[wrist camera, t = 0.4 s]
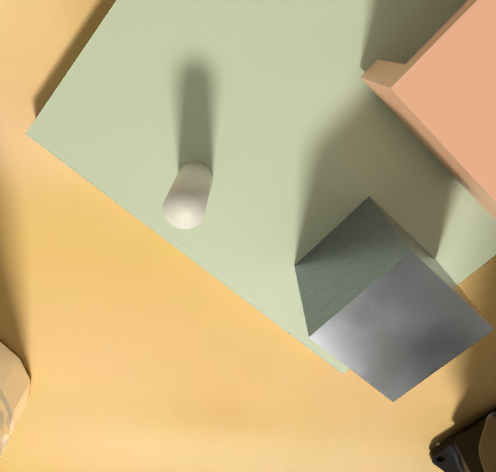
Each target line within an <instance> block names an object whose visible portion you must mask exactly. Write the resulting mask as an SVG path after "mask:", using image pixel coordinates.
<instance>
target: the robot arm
mask: <svg viewBox="0 0 496 472" xmlns="http://www.w3.org/2000/svg"><path fill="white" fill-rule="evenodd" d="M429 455H430V458H431V460H432V462H433V463H434V464H435V465H436V466H438V467H439V468H440V469H442V470H443V471H444V472H496V408H495V409H494V410H492V411H491V412H489V413H488V414H486V415H485V416H483V417H481V418H480V419H478V420H477V421H475V422H474V423H472V424H471V425H469V426H468V427H466V428H464V429H463V430H461V431H460V432H458V433H457V434H455V435H454V436H452V437H451V438H449V439H448V440H446V441H444V442H443V443H441V444H440V445H438V446H437V447H435V448H434V449H432V450H431V451H430V453H429Z"/></svg>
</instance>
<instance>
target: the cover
mask: <svg viewBox="0 0 496 472" xmlns="http://www.w3.org/2000/svg"><path fill="white" fill-rule="evenodd" d="M360 78H361V79H362V80H363V81H364V82H365V83H366V84H367V85H368V86H369V87H370V88H371V89H372V90H373V91H374V92H375V94H376V95H377V96H378V97H379V98H380V99H381V100H382V101H383V102H384V103H385V104H386V105H387V106H388V107H389V108H390V109H391V110H392V112H393V113H394V114H395V115H396V116H397V117H398V118H399V119H400V120H401V121H402V122H403V123H404V124H405V125H406V126H407V127H408V129H409V130H410V131H411V132H412V133H413V134H414V135H415V136H416V137H417V138H418V139H419V140H420V141H421V142H422V143H423V144H424V146H425V147H426V148H427V149H428V150H429V151H430V152H431V153H432V154H433V155H434V156H435V157H436V158H437V159H438V160H439V161H440V163H441V164H442V165H443V166H444V167H445V168H446V169H447V170H448V171H449V172H450V173H451V174H452V175H453V176H454V177H455V178H456V179H457V181H458V182H459V183H460V184H461V185H462V186H463V187H464V188H465V189H466V190H467V191H468V192H469V193H470V194H471V195H472V196H473V198H474V199H475V200H476V201H477V202H478V203H479V204H480V205H481V206H482V207H483V208H484V209H485V210H486V211H487V212H488V213H489V215H491V216H492V217H493V218H495V219H496V0H468V1H467V2H466V3H465V4H464V5H463V6H462V7H461V8H460V9H459V10H458V11H457V12H456V13H455V14H454V15H453V16H452V17H451V18H450V20H449V21H448V22H447V23H446V24H445V25H444V26H443V27H442V28H441V29H440V30H439V31H438V32H437V33H436V34H435V35H434V36H433V37H432V38H431V39H430V40H429V41H428V42H427V43H426V44H425V45H424V46H423V47H422V48H421V49H420V50H419V51H418V52H417V53H416V54H415V55H414V56H413V57H412V58H411V59H410V60H409V61H408V62H407V63H406V64H400V63H394V62H388V61H383V60H376V61H375V62H374V63H373V64H372V65H371V67H370V68H369V69H368V70H367V71H366V72H365V73H364V74H363V75H362V76H361V77H360Z"/></svg>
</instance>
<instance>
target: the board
mask: <svg viewBox="0 0 496 472" xmlns="http://www.w3.org/2000/svg"><path fill="white" fill-rule="evenodd" d="M467 1H468V0H116V1H115V3H114V4H113V6H112V7H111V9H110V10H109V12H108V13H107V15H106V16H105V18H104V19H103V21H102V22H101V24H100V25H99V26H98V28H97V29H96V31H95V32H94V34H93V35H92V37H91V38H90V40H89V41H88V43H87V44H86V46H85V47H84V49H83V50H82V51H81V53H80V54H79V56H78V57H77V59H76V60H75V62H74V63H73V65H72V66H71V68H70V69H69V71H68V72H67V74H66V75H65V77H64V78H63V79H62V81H61V82H60V84H59V85H58V87H57V88H56V90H55V91H54V93H53V94H52V96H51V97H50V99H49V100H48V102H47V103H46V104H45V106H44V107H43V109H42V110H41V112H40V113H39V115H38V116H37V118H36V119H35V121H34V122H33V124H32V125H31V127H30V128H29V129H28V131H27V132H26V134H27V135H28V136H29V137H30V138H32V139H33V140H34V141H36V142H37V143H38V144H40V145H41V146H42V147H44V148H45V149H46V150H48V151H49V152H50V153H52V154H53V155H54V156H56V157H57V158H58V159H60V160H61V161H62V162H63V163H65V164H66V165H67V166H69V167H70V168H71V169H73V170H74V171H75V172H77V173H78V174H79V175H81V176H82V177H83V178H85V179H86V180H87V181H89V182H90V183H91V184H92V185H94V186H95V187H96V188H98V189H99V190H100V191H102V192H103V193H104V194H106V195H107V196H108V197H110V198H111V199H112V200H114V201H115V202H116V203H118V204H119V205H120V206H122V207H123V208H124V209H125V210H127V211H128V212H129V213H131V214H132V215H133V216H135V217H136V218H137V219H139V220H140V221H141V222H143V223H144V224H145V225H147V226H148V227H149V228H151V229H152V230H153V231H155V232H156V233H157V234H158V235H160V236H161V237H162V238H164V239H165V240H166V241H168V242H169V243H170V244H172V245H173V246H174V247H176V248H177V249H178V250H180V251H181V252H182V253H184V254H185V255H186V256H187V257H189V258H190V259H191V260H193V261H194V262H195V263H197V264H198V265H199V266H201V267H202V268H203V269H205V270H206V271H207V272H209V273H210V274H211V275H213V276H214V277H215V278H217V279H218V280H219V281H220V282H222V283H223V284H224V285H226V286H227V287H228V288H230V289H231V290H232V291H234V292H235V293H236V294H238V295H239V296H240V297H242V298H243V299H244V300H246V301H247V302H248V303H249V304H251V305H252V306H253V307H255V308H256V309H257V310H259V311H260V312H261V313H263V314H264V315H265V316H267V317H268V318H269V319H271V320H272V321H273V322H275V323H276V324H277V325H279V326H280V327H281V328H282V329H284V330H285V331H286V332H288V333H289V334H290V335H292V336H293V337H294V338H296V339H297V340H298V341H300V342H301V343H302V344H304V345H305V346H306V347H308V348H309V349H310V350H312V351H313V352H314V353H315V354H317V355H318V356H319V357H321V358H322V359H323V360H325V361H326V362H327V363H329V364H330V365H331V366H333V367H334V368H335V369H337V370H338V371H339V372H341V373H342V374H344V373H345V372H346V371H348V370H349V369H350V368H348V367H347V366H346V365H344V364H343V363H342V362H340V361H339V360H338V359H337V358H335V357H334V356H333V355H331V354H330V353H329V352H327V351H326V350H325V349H324V348H322V347H321V346H320V345H318V344H317V343H316V342H314V341H313V340H312V339H311V338H309V336H308V331H307V326H306V321H305V316H304V311H303V306H302V301H301V297H300V292H299V287H298V282H297V277H296V272H295V267H294V265H296V264H297V263H298V262H299V261H300V260H301V259H302V258H303V257H304V256H305V255H306V254H307V253H308V252H310V251H311V250H312V249H313V248H314V247H315V246H316V245H317V244H318V243H319V242H320V241H321V240H322V239H324V238H325V237H326V236H327V235H328V234H329V233H330V232H331V231H332V230H333V229H334V228H335V227H336V226H338V225H339V224H340V223H341V222H342V221H343V220H344V219H345V218H346V217H347V216H348V215H349V214H350V213H351V212H353V211H354V210H355V209H356V208H357V207H358V206H359V205H360V204H361V203H362V202H363V201H364V200H365V199H367V198H368V197H369V196H370V197H371V198H372V199H373V200H374V201H375V202H376V203H377V204H378V205H379V206H380V207H381V208H382V209H383V210H385V211H386V212H387V213H388V214H389V215H390V216H391V217H392V218H393V219H394V220H395V221H396V222H397V223H398V224H399V225H400V226H401V227H402V228H403V229H404V230H405V231H407V232H408V233H409V234H410V235H411V236H412V237H413V238H414V239H415V240H416V241H417V242H418V243H419V244H420V245H421V246H422V247H423V248H424V249H425V250H426V251H428V252H429V253H430V254H431V255H432V256H433V257H434V258H435V259H436V260H437V261H438V263H439V264H440V265H441V266H442V267H443V269H444V270H445V271H446V272H447V273H448V274H449V276H450V277H451V278H452V279H453V280H454V282H455V283H456V284H457V285H458V284H459V283H460V282H462V281H463V280H464V279H466V278H467V277H468V276H469V275H471V274H472V273H473V272H475V271H476V270H477V269H478V268H480V267H481V266H482V265H484V264H485V263H486V262H487V261H489V260H490V259H491V258H493V257H494V256H495V255H496V219H495V218H493V217H492V216H491V215H489V213H488V212H487V211H486V210H485V209H484V208H483V207H482V206H481V205H480V204H479V203H478V202H477V201H476V200H475V199H474V198H473V196H472V195H471V194H470V193H469V192H468V191H467V190H466V189H465V188H464V187H463V186H462V185H461V184H460V183H459V182H458V181H457V179H456V178H455V177H454V176H453V175H452V174H451V173H450V172H449V171H448V170H447V169H446V168H445V167H444V166H443V165H442V164H441V163H440V161H439V160H438V159H437V158H436V157H435V156H434V155H433V154H432V153H431V152H430V151H429V150H428V149H427V148H426V147H425V146H424V144H423V143H422V142H421V141H420V140H419V139H418V138H417V137H416V136H415V135H414V134H413V133H412V132H411V131H410V130H409V129H408V127H407V126H406V125H405V124H404V123H403V122H402V121H401V120H400V119H399V118H398V117H397V116H396V115H395V114H394V113H393V112H392V110H391V109H390V108H389V107H388V106H387V105H386V104H385V103H384V102H383V101H382V100H381V99H380V98H379V97H378V96H377V95H376V94H375V92H374V91H373V90H372V89H371V88H370V87H369V86H368V85H367V84H366V83H365V82H364V81H363V80H362V79H361V78H360V77H361V76H362V75H363V74H364V73H365V72H366V71H367V70H368V69H369V68H370V67H371V65H372V64H373V63H374V62H375V61H376V60H383V61H388V62H394V63H400V64H406V63H407V62H408V61H409V60H410V59H411V58H412V57H413V56H414V55H415V54H416V53H417V52H418V51H419V50H420V49H421V48H422V47H423V46H424V45H425V44H426V43H427V42H428V41H429V40H430V39H431V38H432V37H433V36H434V35H435V34H436V33H437V32H438V31H439V30H440V29H441V28H442V27H443V26H444V25H445V24H446V23H447V22H448V21H449V20H450V18H451V17H452V16H453V15H454V14H455V13H456V12H457V11H458V10H459V9H460V8H461V7H462V6H463V5H464V4H465V3H466V2H467Z"/></svg>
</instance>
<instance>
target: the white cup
mask: <svg viewBox="0 0 496 472" xmlns="http://www.w3.org/2000/svg"><path fill="white" fill-rule="evenodd" d="M29 390H30V378H29V376H28V374H27V372H26V370H25V368H24V366H23V364H22V362H21V360H20V358H19V357H17V356H16V355H15V354H14V353H13V352H12V351H11V350H9V349H8V348H7V347H6V346H5V345H4V344H2V343H1V342H0V458H1V456H2V454H3V451H4V449H5V447H6V444H7V441H8V439H9V436H10V434H11V432H12V431H13V429H14V427H15V425H16V423H17V421H18V420H19V418H20V416H21V414H22V412H23V410H24V409H25V407H26V405H27V403H28V398H29Z"/></svg>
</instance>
